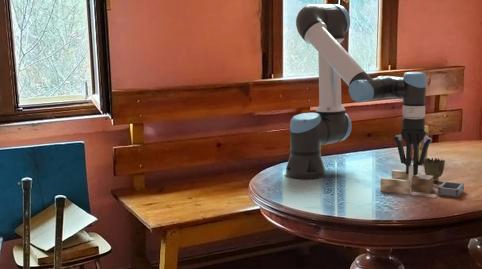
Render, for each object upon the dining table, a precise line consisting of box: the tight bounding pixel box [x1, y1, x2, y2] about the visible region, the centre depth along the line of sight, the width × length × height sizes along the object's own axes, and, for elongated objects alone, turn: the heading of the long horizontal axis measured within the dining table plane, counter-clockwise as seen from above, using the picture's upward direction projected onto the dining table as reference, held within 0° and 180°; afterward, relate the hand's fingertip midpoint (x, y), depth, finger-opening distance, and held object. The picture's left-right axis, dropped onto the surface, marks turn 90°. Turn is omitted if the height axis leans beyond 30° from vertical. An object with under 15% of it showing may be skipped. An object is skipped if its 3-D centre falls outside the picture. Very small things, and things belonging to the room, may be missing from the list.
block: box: [410, 173, 435, 194], centre depth 217 cm, size 6×6×5 cm
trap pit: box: [437, 181, 465, 199], centre depth 213 cm, size 6×9×3 cm
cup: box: [423, 157, 446, 183], centre depth 228 cm, size 8×7×8 cm
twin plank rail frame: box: [379, 169, 441, 199], centre depth 219 cm, size 19×14×4 cm
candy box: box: [411, 125, 430, 161], centre depth 260 cm, size 9×4×15 cm, turn 13°
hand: (411, 183), depth 219 cm, fingers closed
